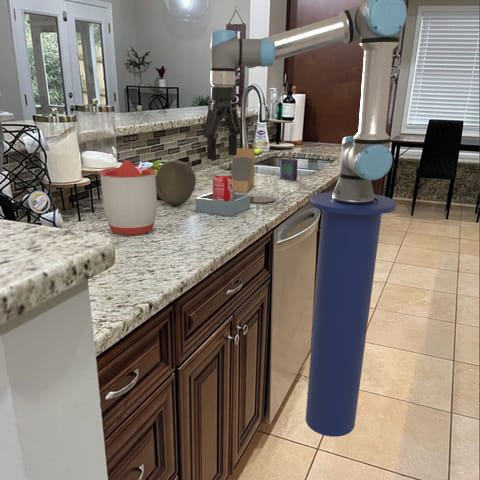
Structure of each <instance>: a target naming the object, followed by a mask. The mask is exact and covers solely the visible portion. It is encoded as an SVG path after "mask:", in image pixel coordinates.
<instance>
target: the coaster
mask: <svg viewBox="0 0 480 480" xmlns="http://www.w3.org/2000/svg"><path fill="white" fill-rule="evenodd" d="M274 202H275V198H273V197H270V196H266V195H265V196H264V195H252V196H251V195H250V204H270V203H274Z"/></svg>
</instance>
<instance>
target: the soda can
mask: <svg viewBox="0 0 480 480" xmlns="http://www.w3.org/2000/svg"><path fill="white" fill-rule="evenodd" d="M231 175H232V174H231V172H215V173H214V176H213V177H212V192H213V200H219V201H227V202H231V201H234V192H235V191H234V181H233V178H232V176H231Z"/></svg>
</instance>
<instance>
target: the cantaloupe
mask: <svg viewBox="0 0 480 480" xmlns="http://www.w3.org/2000/svg"><path fill="white" fill-rule="evenodd" d="M155 176H156V194H157V196H158V197H159V199H160V200H161V201H162V202H164V203H165V204H167V205H170V206H173V207H174V206H175V207H177V206H181V205H184V204H185V203H186V202H188V201H189V200H190V198H191V197H192V195H193V193H194V191H195V187H196V183H197V179H196V178H197V177H196V173H195V171H194V169H193V168H192V167H191V165H189V164H188V163H187V162H185V161H181V160H168V161H165V162H163V163H161V165H160V166H159V167H158V169H157V170H156V173H155Z"/></svg>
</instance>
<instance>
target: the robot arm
mask: <svg viewBox="0 0 480 480" xmlns="http://www.w3.org/2000/svg"><path fill="white" fill-rule="evenodd" d="M407 17H408V9H407V6H406V3H405V1H404V0H364V1H362V2H360V3H359V4H357V5H355V6H353V7H351V8H348V9H345V10H341V11H340V12H339V14H338V15H337V16H334V17H331V18H326V19H323V20H320V21H317V22H313V23H310V24H307V25H303V26H300V27H296V28H293V29H291V30H286V31H282V32H280V33H276V34H273V35H269V36H265V37H263V38H239V37H237V32H236V31H235V30H232V29H215V30H213V31H212V32H211V33H210V85H211V86H212V87H211V88H210V99H211V100H212V101H214V103H208V105H207V106H208V107H207V114H206V118H205V122H204V127H203V131H202V136H203V137H204V138H206V147H207V148H206V149H207V152H206V153H207V160H213V161H216V160H217V138H216V137H215V136H216V134H217V131H218V129H219V126H220V125H221V121H223V120H224V121H225V123H226V126H227V129H228V131H229V134H228V155H229V156H234V155H237V148H238V135H239V136H240V135H241V131H242V129H241V124H240V123H241V122H240V119H239V115H238V106H237V105H238V104H237V102H232V101H235V99H236V88H235V86H236V66H237V67H246V68H248V69H253V68H256V67H262V68H266V67H272V66H274V64H275V62H276V61H279V60H283V59H287V58H290V57H293V56H297V55H300V54H303V53H307V52H310V51H314V50H318V49H321V48H324V47H328V46H332V45H335V44H338V43H341V42H342V43H344V44H350V43H355V42H359V46H360V48H362V51H363V66H362V77H361V78H362V79H361V93H360V94H361V96H360V107H359V120H358V121H359V122H358V132H357V133H356V134H355V135H348V136H344V137H343V138H342V142H341V145H340V148H341V151H340V162H339V173H338V180H337V183H336V185H335V187H334V190H333V191H332V192H333V195H332V200H333V201H335V202H338V203H343V204H353V205H363V204H370V203H373V202H374V200H375V201H378V199H376V198H375V197H374V194H375V193H374V187H373V183H372V181H376V180H379V179H382V178H383V177H384V176H385V175H387V174H388V173H389V171H390V170H391V168H392V165H393V154H392V152H391V150H390V140H391V139H390V135H389V134H388V133H387V132H386V130H387V121H388V119H387V118H388V108H389V98H390V97H389V96H390V86H391V75H392V67H393V66H392V64H393V55H394V54H393V53H394V50H395V48H396V47H398V45H399V44H400V35H401V30H402V29H403V28H404V26H405V24H406V21H407Z"/></svg>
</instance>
